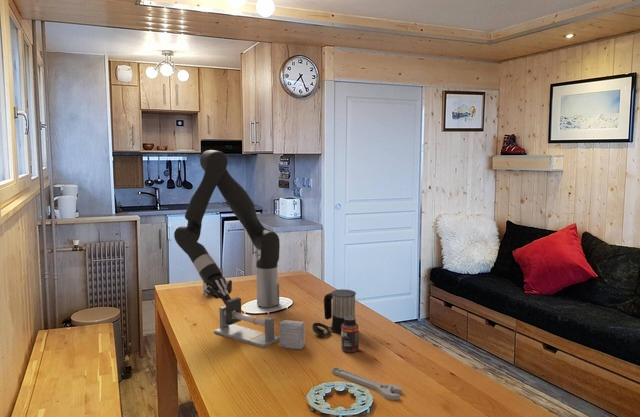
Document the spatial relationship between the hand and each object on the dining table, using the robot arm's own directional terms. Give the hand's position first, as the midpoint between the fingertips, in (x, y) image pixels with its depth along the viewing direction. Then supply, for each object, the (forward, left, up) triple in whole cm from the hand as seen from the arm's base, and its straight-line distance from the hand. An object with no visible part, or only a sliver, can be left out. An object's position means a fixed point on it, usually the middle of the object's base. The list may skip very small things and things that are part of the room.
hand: (230, 304), depth 192 cm
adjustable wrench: (-26, +58, -11) cm, 65 cm away
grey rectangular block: (-5, -56, -11) cm, 57 cm away
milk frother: (-36, +16, -11) cm, 41 cm away
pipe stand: (-4, +7, -10) cm, 13 cm away
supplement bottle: (-33, +34, -11) cm, 49 cm away
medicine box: (-16, +23, -11) cm, 30 cm away
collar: (-1, +1, -6) cm, 7 cm away
